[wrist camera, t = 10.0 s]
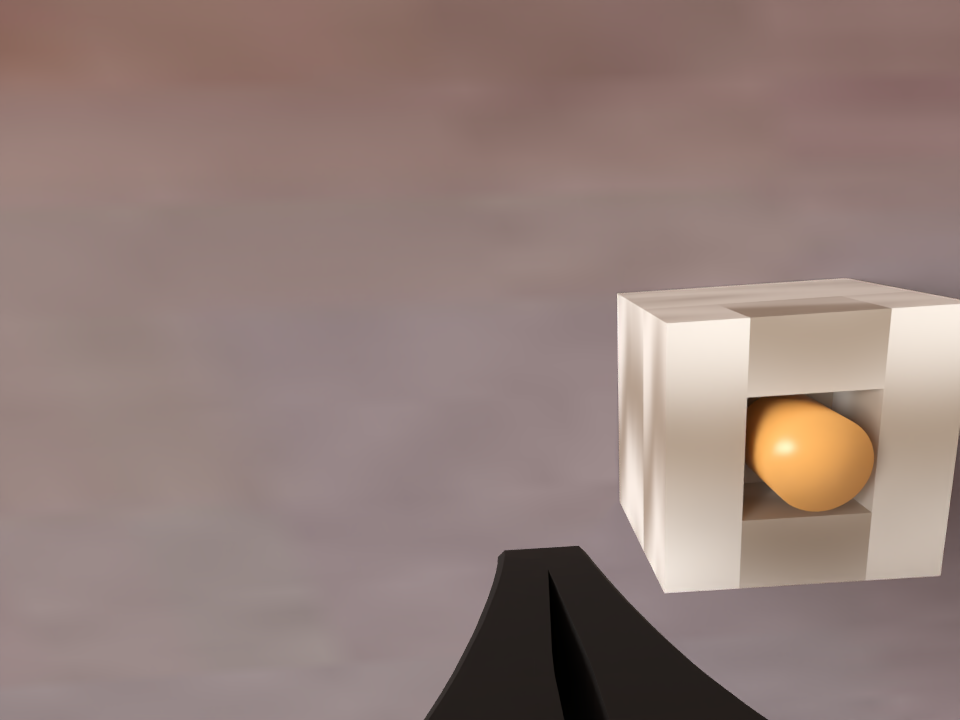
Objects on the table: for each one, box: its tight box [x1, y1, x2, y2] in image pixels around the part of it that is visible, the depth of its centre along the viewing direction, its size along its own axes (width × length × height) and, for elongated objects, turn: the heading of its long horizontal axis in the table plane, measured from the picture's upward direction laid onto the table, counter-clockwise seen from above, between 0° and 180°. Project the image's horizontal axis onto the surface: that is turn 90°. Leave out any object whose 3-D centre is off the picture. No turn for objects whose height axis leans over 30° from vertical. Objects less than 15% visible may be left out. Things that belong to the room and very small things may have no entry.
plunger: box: [744, 394, 874, 512], centre depth 15 cm, size 2×2×2 cm
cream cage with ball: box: [617, 278, 960, 593], centre depth 17 cm, size 7×7×5 cm
